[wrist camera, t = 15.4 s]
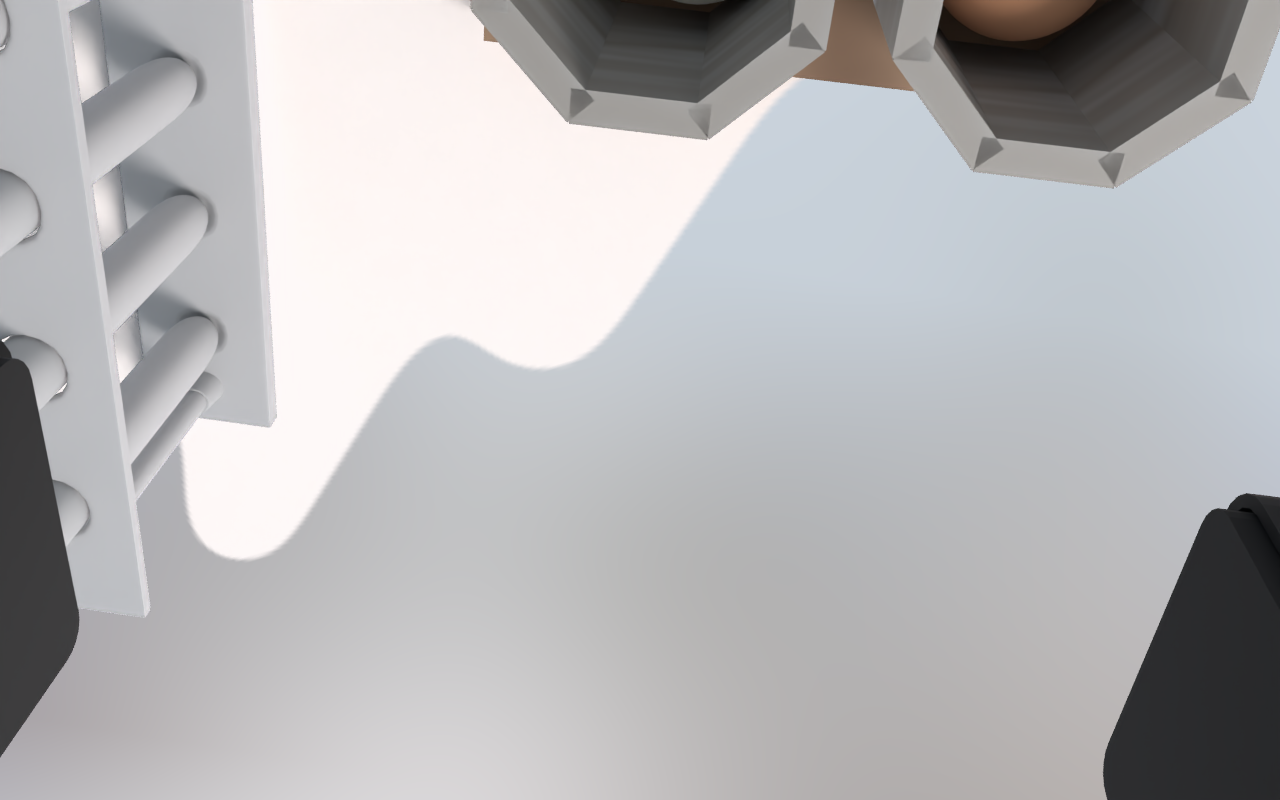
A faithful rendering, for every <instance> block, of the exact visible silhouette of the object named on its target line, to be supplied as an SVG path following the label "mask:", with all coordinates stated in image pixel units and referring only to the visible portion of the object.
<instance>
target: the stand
mask: <svg viewBox="0 0 1280 800" xmlns="http://www.w3.org/2000/svg"><path fill="white" fill-rule="evenodd" d="M943 1H944V0H724V1H721V2H716V3H711V4H698V5H696V4H686V3H681V2H677V1H673V0H471V9H473V10H472V12H473V13H474V14H475V16H476V17H477V18H478V19H479V20H480V21H481V23H482V24H483V25H484V41H492V42H499V44H500V45H501V46H502V47H503V48H504V49H505V51H506V52H507V53H508V54H509V55H510V56H511V58H512V59H513V60H514V61H515V62H516V63H517V65H518V66H519V67H520V68H521V69H522V70H523V72H524V73H525V74H526V75H527V76H528V77H529V79H530V80H531V81H532V82H533V83H534V84H535V86H536V87H537V88H538V89H539V90H540V91H541V93H542V94H543V95H544V96H545V97H546V98H547V100H548V101H549V102H550V103H551V104H552V105H553V107H554V108H555V109H556V110H557V111H558V112H559V114H560V115H561V116H562V117H563V118H564V119H565V121H566V122H568V121H569V124H576V125H585V126H593V127H602V128H610V129H618V130H627V131H635V132H644V133H652V134H660V135H669V136H677V137H686V138H694V139H703V140H707V139H710V138H712V137H713V136H714V135H716V134H717V133H718V132H720V131H721V130H722V129H724V128H725V127H726V126H728V125H729V124H730V123H732V122H733V121H734V120H736V119H737V118H738V117H739V116H741V115H742V114H743V113H745V112H746V111H747V110H749V109H750V108H751V107H753V106H754V105H755V104H757V103H758V102H759V101H761V100H762V99H763V98H765V97H766V96H767V95H769V94H770V93H771V92H773V91H774V90H775V89H777V88H778V87H779V86H781V85H782V84H783V83H785V82H786V81H787V80H789V79H790V78H791V77H798V78H806V79H815V80H824V81H832V82H840V83H849V84H857V85H867V86H875V87H884V88H892V89H900V90H908V91H915V92H916V93H917V94H918V96H919V98H920V99H921V100H922V102H923V103H924V105H925V106H926V107H927V109H928V110H929V112H930V113H931V114H932V116H933V117H934V119H935V120H936V121H937V123H938V124H939V126H940V127H941V128H942V130H943V131H944V133H945V134H946V135H947V137H948V138H949V140H950V141H951V142H952V144H953V145H954V147H955V148H956V149H957V151H958V152H959V154H960V155H961V156H962V158H963V159H964V160H965V162H966V163H967V165H968V166H969V168H971V170H973V172H980V173H989V174H997V175H1006V176H1014V177H1022V178H1031V179H1039V180H1047V181H1056V182H1064V183H1073V184H1081V185H1089V186H1098V187H1106V188H1114V186H1115V187H1118V186H1119V185H1121V184H1122V183H1124V182H1126V181H1127V180H1129V179H1130V178H1132V177H1134V176H1135V175H1137V174H1138V173H1140V172H1142V171H1143V170H1145V169H1146V168H1148V167H1149V166H1151V165H1152V164H1154V163H1156V162H1157V161H1159V160H1161V159H1162V158H1164V157H1165V156H1167V155H1168V154H1170V153H1172V152H1173V151H1175V150H1177V149H1178V148H1180V147H1181V146H1183V145H1185V144H1186V143H1188V142H1189V141H1191V140H1192V139H1194V138H1196V137H1197V136H1199V135H1200V134H1202V133H1204V132H1205V131H1207V130H1208V129H1210V128H1212V127H1213V126H1215V125H1216V124H1218V123H1219V122H1221V121H1223V120H1224V119H1226V118H1227V117H1229V116H1230V115H1232V114H1234V113H1235V112H1237V111H1239V110H1240V109H1242V108H1243V107H1245V106H1246V105H1248V104H1249V103H1251V100H1252V101H1253V100H1254V97H1255V94H1256V92H1257V89H1258V86H1259V84H1260V81H1261V78H1262V75H1263V73H1264V70H1265V67H1266V65H1267V62H1268V59H1269V56H1270V54H1271V51H1272V48H1273V46H1274V43H1275V40H1276V37H1277V35H1278V32H1279V29H1280V0H1096V2H1095V3H1094V4H1093V5H1092V6H1091V7H1090V8H1089V9H1088V10H1087V11H1086V12H1085V13H1084V14H1083V15H1082V16H1081V17H1079V18H1078V19H1077V20H1075V21H1074V22H1073V23H1071V24H1070V25H1068V26H1066V27H1065V28H1063V29H1061V30H1059V31H1057V32H1055V33H1052V34H1050V35H1047V36H1044V37H1041V38H1037V39H1032V40H1026V41H1003V40H997V39H993V38H989V37H986V36H983V35H980V34H978V33H976V32H974V31H972V30H970V29H969V28H967V27H966V26H964V25H963V24H961V23H960V22H959V21H958V20H957V19H955V18H954V17H953V16H952V15H951V14H950V13H949V11H948V10H947V9H946V7H945V6H944V5H943Z"/></svg>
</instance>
